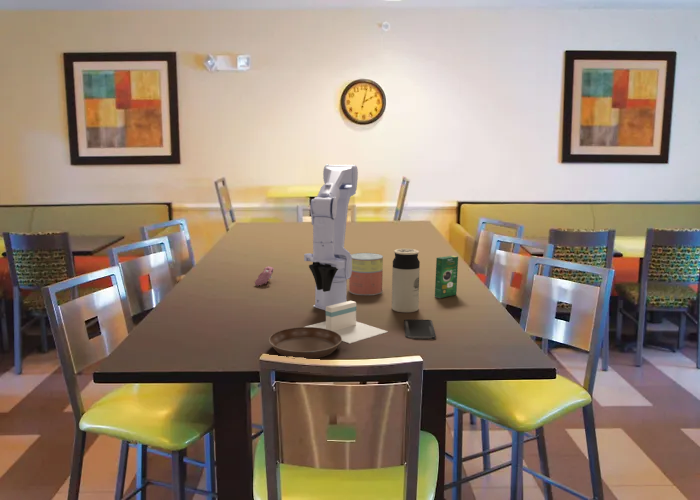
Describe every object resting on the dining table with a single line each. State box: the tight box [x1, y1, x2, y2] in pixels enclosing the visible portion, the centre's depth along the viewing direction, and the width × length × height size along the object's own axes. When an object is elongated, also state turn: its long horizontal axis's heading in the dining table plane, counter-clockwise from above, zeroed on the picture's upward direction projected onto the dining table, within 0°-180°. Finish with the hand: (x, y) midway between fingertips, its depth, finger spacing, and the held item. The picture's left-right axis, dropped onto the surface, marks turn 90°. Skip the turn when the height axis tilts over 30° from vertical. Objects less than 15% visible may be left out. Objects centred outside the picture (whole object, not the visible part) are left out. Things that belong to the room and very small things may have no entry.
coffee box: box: [434, 255, 459, 299], centre depth 202 cm, size 8×3×13 cm, turn 129°
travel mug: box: [391, 248, 421, 314], centre depth 185 cm, size 8×8×18 cm
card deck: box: [325, 300, 357, 331], centre depth 168 cm, size 2×9×6 cm, turn 133°
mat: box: [304, 320, 389, 345], centre depth 167 cm, size 18×14×1 cm
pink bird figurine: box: [254, 266, 275, 287], centre depth 219 cm, size 10×5×7 cm, turn 1°
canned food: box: [348, 252, 384, 296], centre depth 208 cm, size 11×11×12 cm
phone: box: [403, 318, 437, 340], centre depth 167 cm, size 8×1×15 cm
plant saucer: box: [268, 326, 343, 359], centre depth 152 cm, size 18×18×3 cm
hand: (323, 290), depth 171 cm, fingers closed
